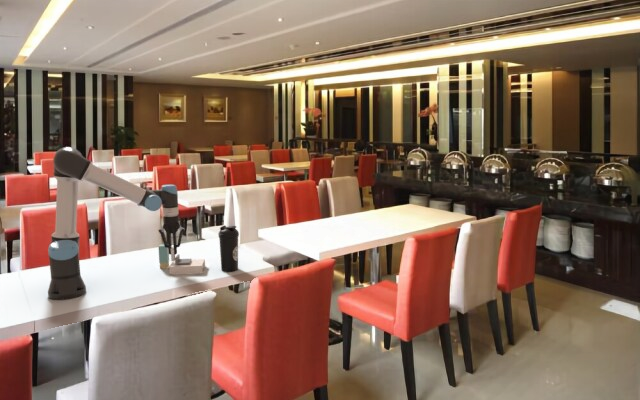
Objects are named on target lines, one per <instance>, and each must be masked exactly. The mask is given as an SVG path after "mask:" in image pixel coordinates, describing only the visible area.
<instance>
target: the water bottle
mask: <svg viewBox="0 0 640 400" xmlns="http://www.w3.org/2000/svg"><path fill="white" fill-rule="evenodd" d="M236 228H237V225H231V226H227V225H222V226H221V227H219V231H218V238H219V251H220V265H221V267H220V268H221V269H220V270H221V271H222V272H223V273H233V272H236V271H238V270H239V235H240V234H239V233H240V232H239V231H238V229H236Z"/></svg>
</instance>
